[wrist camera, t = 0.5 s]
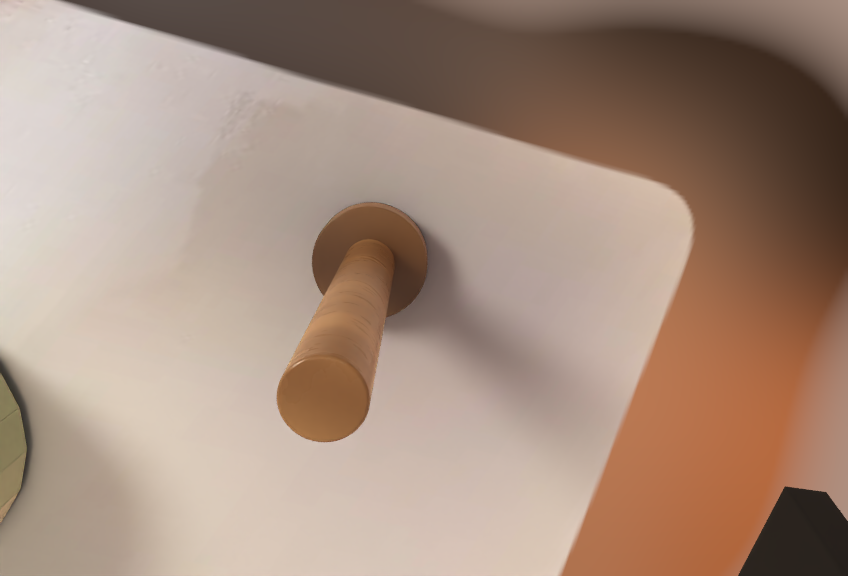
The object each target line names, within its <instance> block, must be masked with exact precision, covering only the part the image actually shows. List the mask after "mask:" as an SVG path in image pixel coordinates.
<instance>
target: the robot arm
mask: <svg viewBox="0 0 848 576" xmlns="http://www.w3.org/2000/svg"><path fill="white" fill-rule="evenodd" d="M738 576H848V521H847V520H846V518H845V517H844V516H843V514H842V513H841V512H840V510H839V509H838V508H837V506H836V505H835V504H834V502H833V501H832V499H831V498H830V497H829V495H828V494H827V493H826V492H821V491H813V490H806V489H799V488H792V487H784V489H783V491H782V493H781V495H780V497H779V499H778V501H777V503H776V505H775V507H774V508H773V510H772V512H771V514H770V516H769V518H768V520H767V522H766V524H765V525H764V527H763V529H762V531H761V533H760V535H759V537H758V539H757V541H756V543H755V545H754V546H753V548H752V550H751V552H750V554H749V556H748V558H747V560H746V562H745V564H744V565H743V567H742V569H741V571H740V573H739V575H738Z"/></svg>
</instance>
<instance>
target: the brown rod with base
mask: <svg viewBox="0 0 848 576" xmlns="http://www.w3.org/2000/svg"><path fill="white" fill-rule="evenodd" d="M312 267H313V274H314V278H315V281H316V283H317V286H318V288H319V289H320V291H321V293H322V294H323V296H324V297H323V299H322V301H321V303H320V305H319V307H318V309H317V311H316V313H315V314H314V316H313V318H312V320H311V322H310V324H309V326H308V328H307V330H306V332H305V334H304V336H303V337H302V339H301V341H300V343H299V345H298V347H297V349H296V351H295V353H294V355H293V357H292V359H291V360H290V362H289V364H288V366H287V368H286V370H285V372H284V374H283V376H282V378H281V380H280V382H279V385H278V389H277V405H278V409H279V412H280V414H281V416H282V418H283V420H284V421H285V423H286V424H287V425H288V426H289V427H290V428H291V429H292V430H293V431H294V432H295V433H297V434H298V435H300V436H302V437H304V438H306V439H309V440H312V441H317V442H332V441H337V440H340V439H343V438H345V437H347V436H349V435H350V434H352V433H353V432H355V431H356V430H357V429H358V428H359V427H360V426H361V424H362V423H363V422H364V420H365V418H366V416H367V413H368V410H369V405H370V400H371V395H372V389H373V384H374V378H375V373H376V367H377V362H378V357H379V351H380V346H381V340H382V335H383V329H384V324H385V318H386V317H388V316H391V315H394V314H396V313H398V312H400V311H401V310H403V309H404V308H406V307H407V306H408V305H409V304H410V303H411V302H412V301H413V300H414V299H415V298H416V297H417V295H418V294H419V292H420V290H421V288H422V286H423V284H424V281H425V278H426V273H427V249H426V244H425V241H424V238H423V236H422V234H421V232H420V230H419V228H418V227H417V225H416V224H415V223H414V222H413V221H412V219H411V218H409V217H408V216H407V215H406V214H405V213H403V212H402V211H400V210H398V209H396V208H394V207H392V206H389V205H386V204H382V203H373V202H368V203H360V204H356V205H353V206H350V207H348V208H346V209H344V210H342V211H340V212H339V213H338V214H336V215H335V216H334V217H333V218H332V219H331V220H330V221H329V222H328V223H327V225H326V226H325V227H324V228H323V230H322V231H321V233H320V234H319V236H318V238H317V240H316V243H315V246H314V250H313V256H312Z"/></svg>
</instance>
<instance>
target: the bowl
mask: <svg viewBox="0 0 848 576" xmlns="http://www.w3.org/2000/svg"><path fill="white" fill-rule="evenodd" d="M26 452H27V445H26V440H25V434H24V429H23V423H22V418H21V412H20V408H19V406H18V404H17V402H16V401H15V399H14V397H13V395H12V393H11V391H10V389H9V387H8V386H7V384H6V382H5V380H4V378H3V376H2V374H1V373H0V523H1V522H2V520H3V519H4V517H5V515H6V513H7V512H8V510H9V508H10V507H11V505H12V503H13V501H14V500H15V498H16V496H17V495H18V493H19V491H20V488H21V483H22V477H23V471H24V465H25V459H26Z"/></svg>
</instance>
